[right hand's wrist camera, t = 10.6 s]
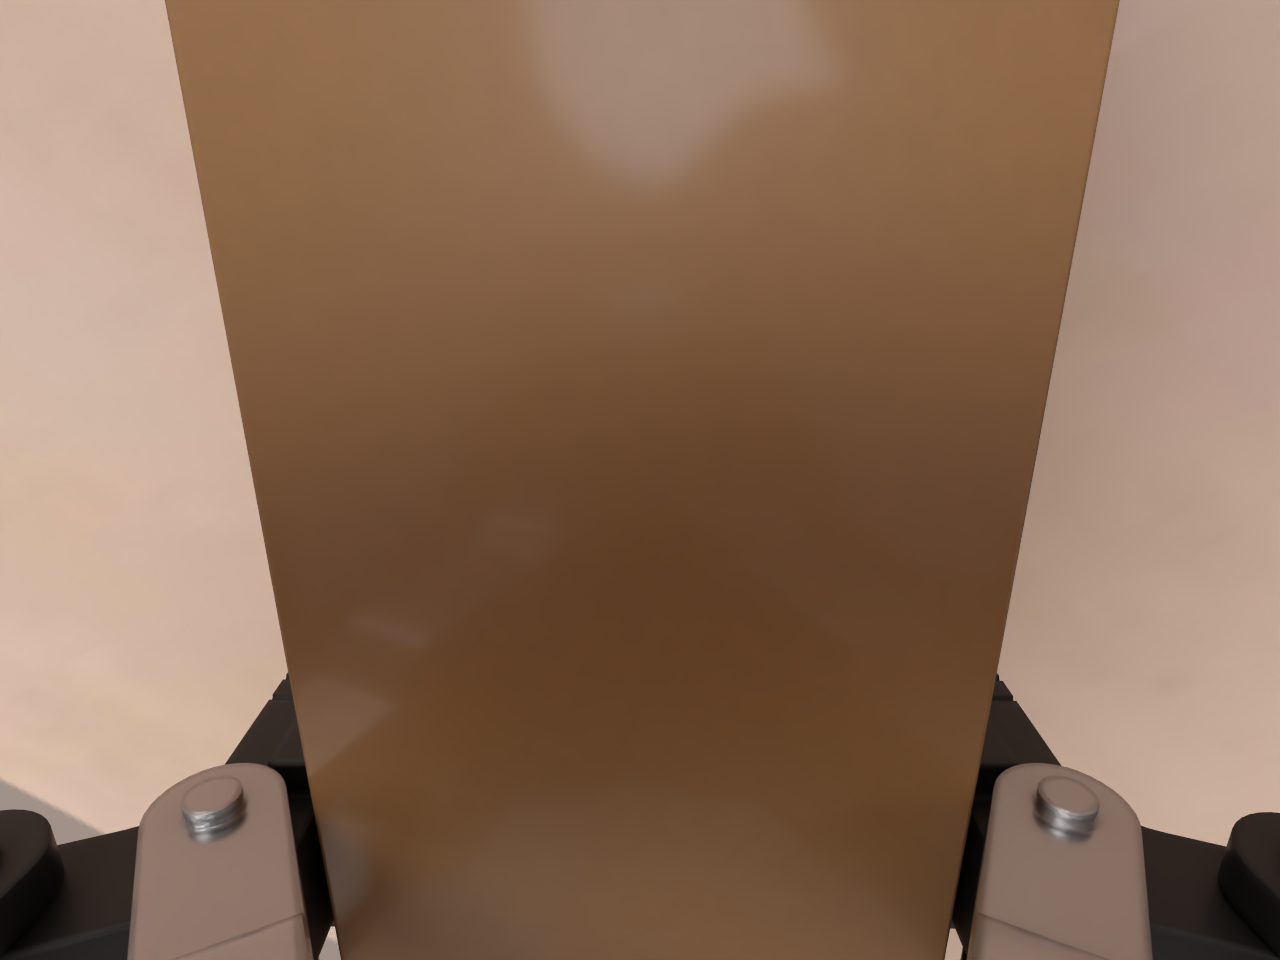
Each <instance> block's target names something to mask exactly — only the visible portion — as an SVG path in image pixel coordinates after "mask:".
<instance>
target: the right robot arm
mask: <svg viewBox="0 0 1280 960" xmlns="http://www.w3.org/2000/svg"><path fill="white" fill-rule="evenodd" d="M331 926H335V923H334V918H333V912H332V907H331V902H330V896H329V891H328V885H327V880H326V874H325V869H324V863H323V858H322V853H321V847H320V842H319V836H318V831H317V825H316V820H315V814H314V809H313V804H312V798H311V793H310V787H309V782H308V776H307V771H306V765H305V760H304V755H303V749H302V744H301V738H300V733H299V727H298V722H297V716H296V711H295V705H294V700H293V695H292V689H291V684H290V678H289V673H287V675H286V680H282V682H281V683H280V685H279V686H278V688H277V689H276V691H275V692H274V694H273V699H272V700H269V701H268V702H267V704H266V705H265V707H264V708H263V710H262V711H261V712H260V714H259V715H258V717H257V718H256V720H255V721H254V723H253V724H252V726H251V727H250V729H249V730H248V731H247V733H246V734H245V736H244V737H243V739H242V740H241V742H240V743H239V745H238V746H237V748H236V749H235V750H234V752H233V753H232V755H231V756H230V758H229V759H228V761H227V762H226V764H225V765H222V766H217V767H213V768H210V769H207V770H204V771H201V772H199V773H196V774H194V775H192V776H189V777H187V778H186V779H184V780H182V781H180V782H178V783H177V784H175V785H174V786H172V787H171V788H169V789H168V790H166V791H165V792H164V793H163V794H162V795H160V796H159V797H158V798H157V799H156V800H155V801H154V802H153V803H152V804H151V805H150V807H149V808H148V809H147V811H146V812H145V814H144V816H143V818H142V820H141V822H140V826H138V827H134V828H130V829H127V830H123V831H118V832H114V833H109V834H105V835H101V836H96V837H92V838H88V839H83V840H79V841H74V842H70V843H66V844H61V845H57V844H56V841H55V838H54V835H53V832H52V829H51V826H50V824H49V822H48V821H47V819H46V818H44V817H43V816H42V815H40V814H38V813H35V812H32V811H27V810H2V811H0V960H320V959H319V954H320V952H321V949H322V947H323V944H324V942H325V939H326V937H327V934H328V932H329V929H330V927H331ZM950 928H955V929H956V931H957V934H958V936H959V939H960V941H961V943H962V946H963V949H962V954H961V959H960V960H1280V813H1273V812H1263V813H1255V814H1249V815H1247V816H1245V817H1242V818H1241V819H1240V820H1238V821H1237V822H1236V823H1235V825H1234V827H1233V828H1232V832H1231V835H1230V838H1229V841H1228V844H1227V847H1225V846H1221V845H1216V844H1212V843H1208V842H1203V841H1199V840H1195V839H1190V838H1186V837H1181V836H1177V835H1173V834H1168V833H1164V832H1160V831H1156V830H1153V829H1149V828H1146V827H1143V826H1141V825H1140V822H1139V820H1138V818H1137V815H1136V814H1135V812H1134V811H1133V809H1132V808H1131V807H1130V805H1129V804H1128V803H1127V802H1126V801H1125V800H1124V799H1123V798H1122V797H1121V796H1120V795H1119V794H1117V793H1116V792H1115V791H1114V790H1112V789H1111V788H1109V787H1108V786H1106V785H1105V784H1103V783H1102V782H1100V781H1098V780H1096V779H1094V778H1093V777H1091V776H1088V775H1086V774H1084V773H1081V772H1079V771H1076V770H1073V769H1070V768H1067V767H1063V766H1061V765H1060V763H1059V762H1058V760H1057V759H1056V757H1055V756H1054V755H1053V753H1052V752H1051V750H1050V749H1049V747H1048V746H1047V745H1046V743H1045V742H1044V740H1043V739H1042V737H1041V736H1040V734H1039V733H1038V732H1037V730H1036V729H1035V727H1034V726H1033V724H1032V723H1031V721H1030V720H1029V719H1028V717H1027V716H1026V714H1025V713H1024V711H1023V710H1022V708H1021V707H1020V706H1019V704H1018V703H1017V701H1013V695H1012V694H1011V693H1010V691H1009V690H1008V688H1007V687H1006V685H1005V684H1004V682H1003V681H999V675H998V674H996V679H995V685H994V690H993V696H992V701H991V707H990V712H989V718H988V723H987V729H986V734H985V740H984V745H983V751H982V756H981V761H980V767H979V772H978V778H977V783H976V789H975V794H974V800H973V805H972V811H971V816H970V822H969V827H968V833H967V838H966V844H965V849H964V855H963V860H962V866H961V871H960V876H959V882H958V887H957V893H956V898H955V904H954V909H953V915H952V920H951V926H950Z"/></svg>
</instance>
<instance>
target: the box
mask: <svg viewBox="0 0 1280 960" xmlns="http://www.w3.org/2000/svg"><path fill="white" fill-rule="evenodd" d="M165 3H166V8H167V14H168V19H169V25H170V30H171V35H172V41H173V46H174V52H175V57H176V63H177V68H178V74H179V79H180V85H181V90H182V95H183V101H184V106H185V112H186V117H187V123H188V128H189V134H190V139H191V144H192V150H193V155H194V161H195V166H196V172H197V177H198V183H199V188H200V193H201V199H202V204H203V210H204V215H205V221H206V226H207V232H208V237H209V242H210V248H211V253H212V259H213V264H214V270H215V275H216V281H217V286H218V292H219V297H220V302H221V308H222V313H223V319H224V324H225V330H226V335H227V341H228V346H229V351H230V357H231V362H232V368H233V373H234V379H235V384H236V390H237V395H238V400H239V406H240V411H241V417H242V422H243V428H244V433H245V439H246V444H247V449H248V455H249V460H250V466H251V471H252V477H253V482H254V488H255V493H256V498H257V504H258V509H259V515H260V520H261V526H262V531H263V537H264V542H265V548H266V553H267V558H268V564H269V569H270V575H271V580H272V586H273V591H274V597H275V602H276V607H277V613H278V618H279V624H280V629H281V635H282V640H283V646H284V651H285V656H286V662H287V667H288V673H289V678H290V684H291V689H292V695H293V700H294V705H295V711H296V716H297V722H298V727H299V733H300V738H301V744H302V749H303V755H304V760H305V765H306V771H307V776H308V782H309V787H310V793H311V798H312V804H313V809H314V814H315V820H316V825H317V831H318V836H319V842H320V847H321V853H322V858H323V863H324V869H325V874H326V880H327V885H328V891H329V896H330V902H331V907H332V912H333V918H334V923H335V929H336V934H337V940H338V945H339V951H340V956H341V960H944V959H945V953H946V948H947V942H948V937H949V931H950V926H951V920H952V915H953V909H954V904H955V898H956V893H957V887H958V882H959V876H960V871H961V866H962V860H963V855H964V849H965V844H966V838H967V833H968V827H969V822H970V816H971V811H972V805H973V800H974V794H975V789H976V783H977V778H978V772H979V767H980V761H981V756H982V751H983V745H984V740H985V734H986V729H987V723H988V718H989V712H990V707H991V701H992V696H993V690H994V685H995V679H996V674H997V668H998V663H999V657H1000V652H1001V646H1002V641H1003V636H1004V630H1005V625H1006V619H1007V614H1008V608H1009V603H1010V597H1011V592H1012V586H1013V581H1014V575H1015V570H1016V564H1017V559H1018V553H1019V548H1020V542H1021V537H1022V531H1023V526H1024V521H1025V515H1026V510H1027V504H1028V499H1029V493H1030V488H1031V482H1032V477H1033V471H1034V466H1035V460H1036V455H1037V449H1038V444H1039V438H1040V433H1041V427H1042V422H1043V416H1044V411H1045V406H1046V400H1047V395H1048V389H1049V384H1050V378H1051V373H1052V367H1053V362H1054V356H1055V351H1056V345H1057V340H1058V334H1059V329H1060V323H1061V318H1062V312H1063V307H1064V301H1065V296H1066V291H1067V285H1068V280H1069V274H1070V269H1071V263H1072V258H1073V252H1074V247H1075V241H1076V236H1077V230H1078V225H1079V219H1080V214H1081V208H1082V203H1083V197H1084V192H1085V186H1086V181H1087V176H1088V170H1089V165H1090V159H1091V154H1092V148H1093V143H1094V137H1095V132H1096V126H1097V121H1098V115H1099V110H1100V104H1101V99H1102V93H1103V88H1104V82H1105V77H1106V71H1107V66H1108V61H1109V55H1110V50H1111V44H1112V39H1113V33H1114V28H1115V22H1116V17H1117V11H1118V6H1119V0H165Z"/></svg>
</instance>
